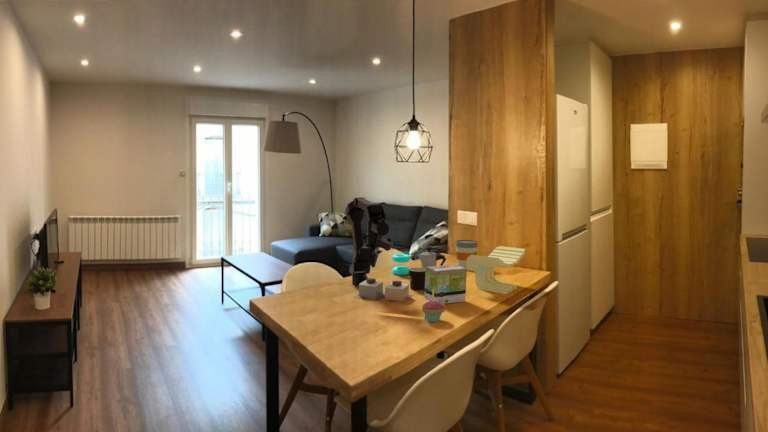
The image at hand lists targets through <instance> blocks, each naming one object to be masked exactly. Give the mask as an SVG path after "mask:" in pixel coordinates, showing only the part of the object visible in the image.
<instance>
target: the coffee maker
mask: <svg viewBox="0 0 768 432" xmlns="http://www.w3.org/2000/svg"><path fill="white" fill-rule="evenodd" d="M426 249H427V250H426V251H425V252H421V253H416V256H418V258H419V260H420V263H421V268H425V269H426V267H431V266H437V261H440V260H441V261H442V262H441V263H440V264H439V266H442V265H444V264H445V262H446V261H447V258H446V257H445V255H444V254H441V253H439V252H437V253H436V252H433V251H432V246H426Z"/></svg>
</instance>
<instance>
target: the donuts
mask: <svg viewBox="0 0 768 432" xmlns="http://www.w3.org/2000/svg"><path fill="white" fill-rule="evenodd" d="M391 259H392V261H393V262H395V263H398V264H405V263H409V262H410V261H411V259H412V257H411V255H409V254H404V253H396V254H393V255H392V256H391ZM409 268H410V267H408V266H404V265H400V266H399V265H398V266H395V267H393V268H392V269H391V272H392V274H393V275H395V276H396V275H397V276H407V275H408V276H409Z"/></svg>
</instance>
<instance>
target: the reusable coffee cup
mask: <svg viewBox="0 0 768 432" xmlns="http://www.w3.org/2000/svg"><path fill="white" fill-rule="evenodd" d="M477 249H478V241H477V240H473V239H458V240H455V258H456V261H457V266H460V267H463V268H466V260H467V258H468V257H469V256H470V255H477V254H478V251H477Z"/></svg>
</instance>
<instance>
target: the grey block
mask: <svg viewBox="0 0 768 432" xmlns="http://www.w3.org/2000/svg"><path fill="white" fill-rule="evenodd" d="M383 289H384V281H381V280H376V282H375V283H367V280H365V281H363V282H362V283H360V284H359V286H358V294H359V296H360V297H369V298H377V297H379V296H380V295H382V294H383V292H384V290H383Z"/></svg>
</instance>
